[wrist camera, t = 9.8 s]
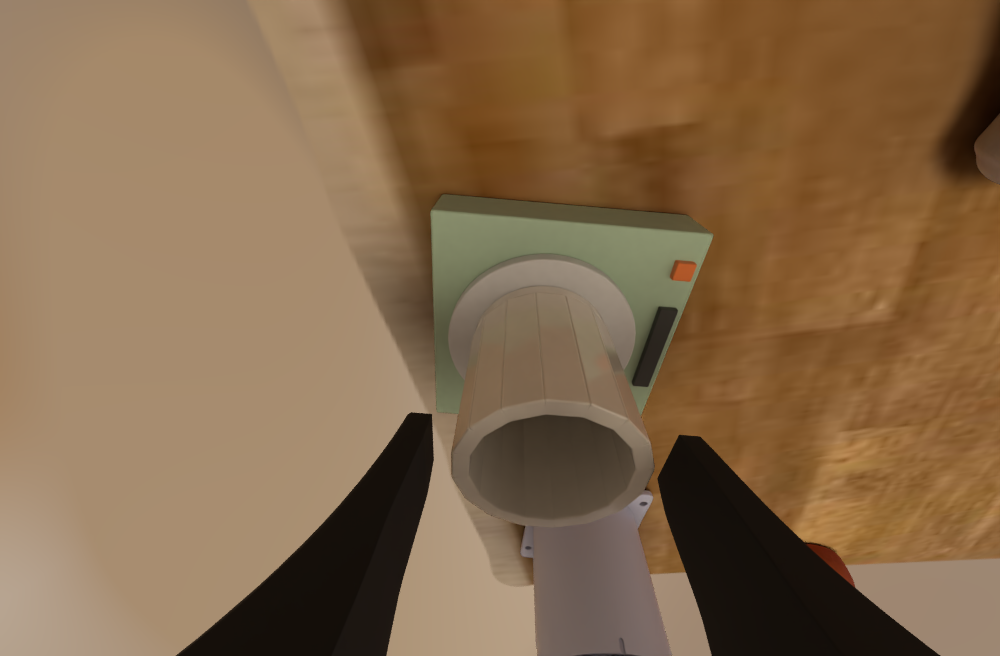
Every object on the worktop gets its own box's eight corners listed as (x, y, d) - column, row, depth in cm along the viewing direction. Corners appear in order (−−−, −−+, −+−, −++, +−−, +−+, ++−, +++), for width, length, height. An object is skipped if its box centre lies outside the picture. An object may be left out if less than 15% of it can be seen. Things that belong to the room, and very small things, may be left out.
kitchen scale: (624, 395, 20) (639, 439, 18) (444, 380, 20) (433, 422, 18) (688, 214, 15) (723, 240, 12) (442, 193, 15) (426, 214, 12)
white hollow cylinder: (591, 398, 16) (623, 534, 11) (471, 388, 16) (451, 520, 11) (622, 291, 13) (684, 411, 8) (476, 278, 13) (450, 391, 8)
